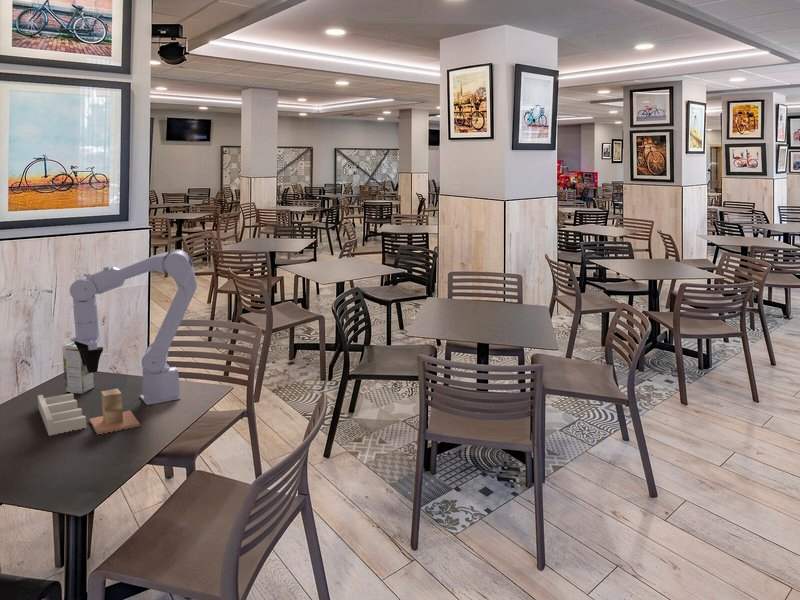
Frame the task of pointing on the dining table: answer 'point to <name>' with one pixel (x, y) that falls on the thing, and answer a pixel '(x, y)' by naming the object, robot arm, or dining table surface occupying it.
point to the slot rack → (61, 414)
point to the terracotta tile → (101, 427)
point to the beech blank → (112, 406)
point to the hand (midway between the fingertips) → (90, 368)
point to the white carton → (76, 371)
